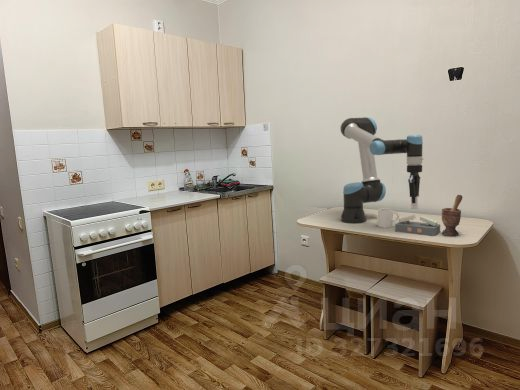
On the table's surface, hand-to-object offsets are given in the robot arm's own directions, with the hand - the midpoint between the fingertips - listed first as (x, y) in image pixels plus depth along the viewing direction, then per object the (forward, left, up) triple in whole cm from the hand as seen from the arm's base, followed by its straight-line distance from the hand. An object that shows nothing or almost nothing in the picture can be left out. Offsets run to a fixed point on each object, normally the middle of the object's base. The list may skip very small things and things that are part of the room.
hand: (414, 208), depth 194 cm
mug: (-15, +4, -13) cm, 20 cm away
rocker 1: (-4, 0, -6) cm, 7 cm away
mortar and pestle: (+18, +3, -13) cm, 22 cm away
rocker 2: (+7, 0, -6) cm, 9 cm away
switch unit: (+2, 0, -12) cm, 12 cm away
